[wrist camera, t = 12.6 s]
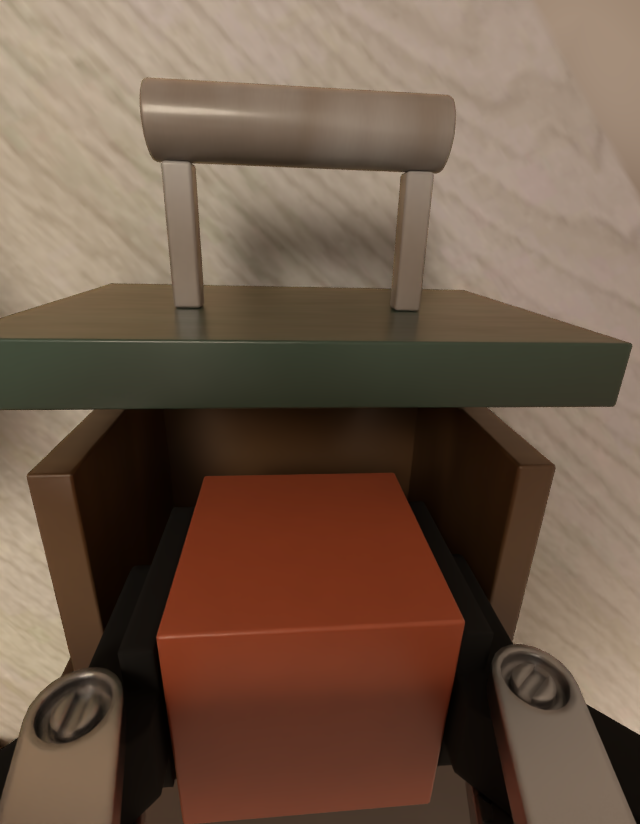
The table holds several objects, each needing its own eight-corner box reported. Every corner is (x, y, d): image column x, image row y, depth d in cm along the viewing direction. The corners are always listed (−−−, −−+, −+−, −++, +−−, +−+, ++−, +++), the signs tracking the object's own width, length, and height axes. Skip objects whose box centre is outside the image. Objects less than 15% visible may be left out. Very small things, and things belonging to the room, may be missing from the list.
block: (203, 474, 10) (154, 637, 6) (394, 471, 11) (467, 622, 7) (215, 621, 12) (181, 826, 8) (380, 614, 12) (431, 805, 8)
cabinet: (136, 520, 18) (2, 793, 9) (438, 512, 19) (571, 749, 11) (170, 753, 24) (105, 1066, 15) (405, 736, 25) (475, 1018, 16)
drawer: (87, 122, 12) (-173, -27, 5) (485, 141, 13) (723, 38, 6) (156, 613, 19) (82, 846, 12) (420, 601, 20) (499, 810, 13)
